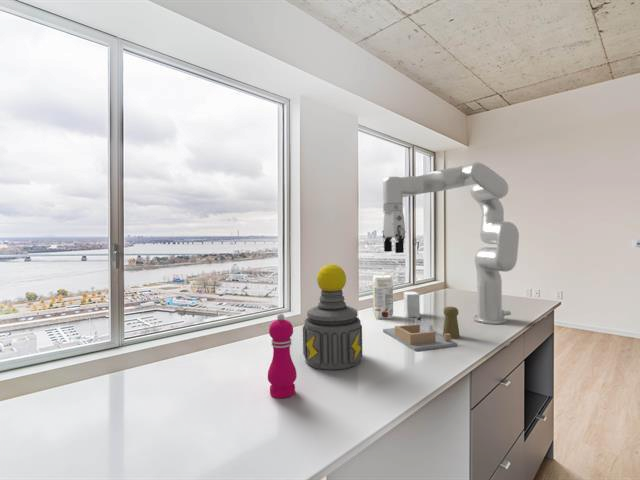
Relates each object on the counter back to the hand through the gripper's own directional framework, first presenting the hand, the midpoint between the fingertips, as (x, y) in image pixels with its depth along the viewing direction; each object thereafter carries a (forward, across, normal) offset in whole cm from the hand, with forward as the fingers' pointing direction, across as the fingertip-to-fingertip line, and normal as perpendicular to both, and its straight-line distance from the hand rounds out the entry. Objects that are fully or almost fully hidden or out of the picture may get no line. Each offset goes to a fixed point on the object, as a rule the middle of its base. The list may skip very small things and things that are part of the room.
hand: (393, 252), depth 144 cm
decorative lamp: (+32, -23, +33) cm, 51 cm away
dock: (+31, -12, -3) cm, 34 cm away
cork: (+31, -14, -16) cm, 38 cm away
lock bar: (+30, -6, -10) cm, 32 cm away
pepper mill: (+31, -41, +52) cm, 73 cm away
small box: (+32, +20, -19) cm, 42 cm away
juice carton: (+31, +21, -5) cm, 38 cm away
